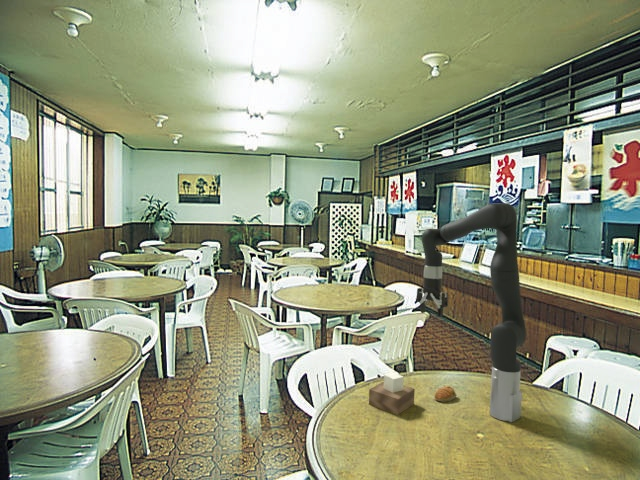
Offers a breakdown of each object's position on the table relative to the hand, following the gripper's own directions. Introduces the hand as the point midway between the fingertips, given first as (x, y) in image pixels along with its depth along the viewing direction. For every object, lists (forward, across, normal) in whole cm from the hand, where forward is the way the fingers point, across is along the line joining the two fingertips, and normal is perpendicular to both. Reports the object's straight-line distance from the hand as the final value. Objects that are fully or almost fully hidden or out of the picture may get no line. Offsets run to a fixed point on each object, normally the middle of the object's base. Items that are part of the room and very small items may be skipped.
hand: (431, 314), depth 182 cm
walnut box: (+28, -7, +30) cm, 42 cm away
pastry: (+29, -15, +9) cm, 33 cm away
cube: (+22, -7, +30) cm, 38 cm away
